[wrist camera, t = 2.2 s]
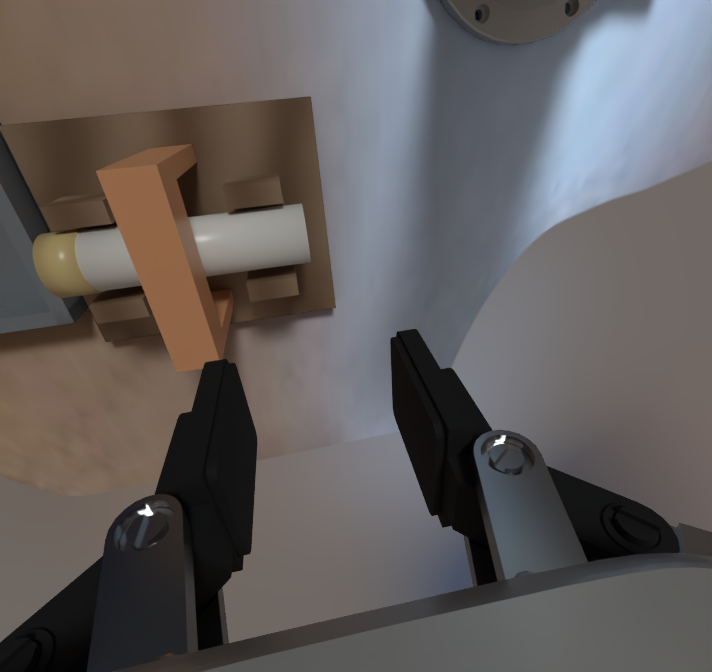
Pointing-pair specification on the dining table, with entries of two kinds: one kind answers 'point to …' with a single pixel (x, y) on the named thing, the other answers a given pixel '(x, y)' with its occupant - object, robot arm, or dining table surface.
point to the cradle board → (189, 193)
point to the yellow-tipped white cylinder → (213, 240)
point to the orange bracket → (168, 253)
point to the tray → (25, 258)
